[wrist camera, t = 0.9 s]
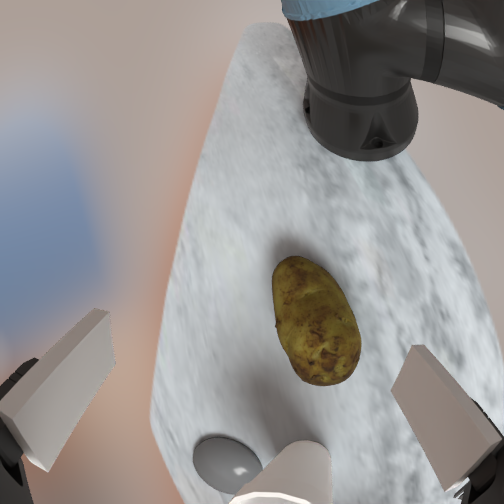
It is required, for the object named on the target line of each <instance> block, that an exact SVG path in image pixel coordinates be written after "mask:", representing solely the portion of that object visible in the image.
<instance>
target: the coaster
mask: <svg viewBox="0 0 504 504" xmlns="http://www.w3.org/2000/svg"><path fill="white" fill-rule="evenodd" d="M193 463H194V467H195V469H196V471H197V473H198V474H199V476H200V477H201V478H202V479H203V480H204V481H205V482H206V483H207V484H208V485H210V486H211V487H213V488H214V489H216V490H218V491H221V492H224V493H227V494H233V495H236V494H237V492H238V491H239V490H240V489H241V488H242V487H243V486H244V485H245V484H246V483H250V482H251V481H252V480H253V479H254V478H255V477H256V476H257V475H258V474H259V473H260V472H261V471H262V470H263V469H262V465H261V463H260V461H259V459H258V458H257V456H256V455H255V454H254V453H253V452H252V451H251V450H250V449H249V448H247V447H246V446H244V445H243V444H241V443H239V442H237V441H234V440H232V439H228V438H221V437H215V438H210V439H207V440H205V441H203V442H202V443H201V444H199V445H198V446H197V447H196V449H195V451H194V453H193Z"/></svg>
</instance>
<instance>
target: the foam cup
mask: <svg viewBox="0 0 504 504" xmlns="http://www.w3.org/2000/svg"><path fill="white" fill-rule="evenodd" d="M228 504H333V492H332V465H331V457H330V454H329V452H328V450H327V449H326V448H325V447H324V446H322V445H321V444H320V443H317V442H313V441H310V440H303V441H295V442H293V443H291V444H289V445H287V446H286V447H285V448H284V449H283V450H282V451H281V452H280V453H279V454H278V455H277V456H276V457H275V458H274V459H273V460H272V461H271V462H270V463H269V464H268V465H267V466H266V467H265V468H264V469H263V470H262V471H261V472H260V473H259V474H258V475H257V476H256V477H255V478H254V479H253V480H252V481H251V482H250V483H246V484H245V485H244V486H243V487H242V488H241V489H240V490H239V491H238V492H237V494H236V495H235V496H234V497H233V498H232V500H231V501H230V502H229V503H228Z"/></svg>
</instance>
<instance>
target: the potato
mask: <svg viewBox="0 0 504 504" xmlns="http://www.w3.org/2000/svg"><path fill="white" fill-rule="evenodd" d="M272 293H273V303H274V311H275V319H276V325H275V327H276V328H277V333H278V337H279V340H280V343H281V345H282V347H283V349H284V350H285V352H286V353H287V355H288V357H289V360H290V362H291V365H292V367H293V369H294V371H295V372H296V374H297V375H298V376H299V377H300V378H301V379H302V380H303V381H304V382H307V383H309V384H312V385H317V386H330V385H335V384H339V383H341V382H343V381H345V380H346V379H348V378H349V377H350V376H351V374H352V373H353V372H354V370H355V368H356V366H357V364H358V361H359V359H360V358H359V357H360V353H361V336H360V332H359V329H358V326H357V323H356V319H355V316H354V314H353V312H352V310H351V308H350V306H349V304H348V302H347V299H346V297H345V295H344V293H343V291H342V290H341V288H340V287H339V285H338V284H337V282H336V281H335V280H334V278H333V277H332V276H331V275H330V274H329V273H328V272H327V271H326V270H325V269H323V268H322V267H320V266H319V265H317V264H315V263H313V262H312V261H310V260H308V259H306V258H303V257H301V256H290V257H287V258H286V259H284V260H283V261H281V262H280V263H279V264H278V265H277V267H276V268H275V270H274V272H273V276H272Z"/></svg>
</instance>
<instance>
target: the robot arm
mask: <svg viewBox="0 0 504 504" xmlns="http://www.w3.org/2000/svg"><path fill="white" fill-rule="evenodd" d="M281 2H282V12H283V14H284V16H285V17H286V18H287V20H288V23H289V25H290V28H291V30H292V33H293V36H294V38H295V41H296V44H297V47H298V49H299V52H300V55H301V58H302V61H303V64H304V67H305V70H306V73H307V76H308V77H307V83H306V89H305V94H304V101H303V110H304V115H305V118H306V121H307V124H308V127H309V129H310V131H311V133H312V135H313V136H314V137H315V139H316V140H317V141H318V142H319V143H320V144H321V145H322V146H324V147H325V148H326V149H328V150H329V151H331V152H333V153H335V154H337V155H339V156H341V157H344V158H348V159H352V160H357V161H379V160H384V159H387V158H390V157H393V156H395V155H397V154H398V153H400V152H401V151H403V150H404V149H405V148H406V147H407V146H408V145H409V144H410V142H411V141H412V139H413V137H414V134H415V131H416V127H417V123H418V107H417V103H416V99H415V95H414V92H413V89H412V85H411V82H410V80H411V78H414V79H418V80H423V81H427V82H431V83H434V84H437V85H441V86H444V87H448V88H451V89H454V90H458V91H460V92H464V93H466V94H469V95H472V96H475V97H477V98H480V99H483V100H485V101H488V102H490V103H493V104H495V105H497V106H498V107H499V108H501V109H503V110H504V0H281ZM115 364H116V362H115V356H114V348H113V341H112V332H111V322H110V312H108V311H104V310H100V309H96V308H94V309H93V310H92V311H91V312H89V313H88V314H87V315H86V316H85V317H84V318H83V319H82V320H81V321H80V322H78V323H77V324H76V325H75V326H74V327H73V328H72V329H71V330H70V331H69V332H68V333H67V334H66V335H65V336H64V337H62V338H61V339H60V340H59V341H58V342H57V343H56V344H55V345H54V346H53V347H52V348H51V349H50V350H49V351H48V352H47V353H46V354H45V355H44V356H43V357H42V358H41V359H40V360H39V359H36V358H33V359H31V360H29V361H26V362H25V363H23V364H22V365H21V366H20V367H19V368H18V369H17V370H16V371H15V373H13V374H12V375H11V376H10V377H9V379H7V380H6V381H5V382H4V383H3V384H2V385H1V386H0V504H34V503H33V500H32V497H31V493H30V490H29V486H28V482H27V478H26V474H25V470H24V464H23V462H22V459H21V456H22V454H23V453H24V454H25V455H26V456H27V458H28V459H29V460H30V462H32V463H33V464H35V465H36V466H38V467H40V468H41V469H43V470H45V471H47V472H49V470H50V469H51V467H52V465H53V463H54V462H55V460H56V458H57V456H58V455H59V453H60V451H61V449H62V448H63V446H64V444H65V443H66V441H67V439H68V438H69V436H70V434H71V433H72V431H73V429H74V428H75V426H76V424H77V423H78V421H79V420H80V418H81V417H82V415H83V413H84V412H85V410H86V409H87V407H88V406H89V404H90V402H91V401H92V399H93V397H94V396H95V395H96V393H97V392H98V390H99V388H100V387H101V385H102V384H103V382H104V381H105V379H106V378H107V376H108V375H109V373H110V372H111V370H112V369H113V367H114V366H115ZM391 392H392V394H393V396H394V398H395V399H396V401H397V403H398V405H399V406H400V408H401V410H402V412H403V413H404V415H405V417H406V419H407V421H408V422H409V424H410V426H411V428H412V430H413V432H414V433H415V435H416V437H417V439H418V441H419V443H420V444H421V446H422V448H423V450H424V452H425V454H426V456H427V458H428V460H429V462H430V464H431V466H432V468H433V469H434V471H435V473H436V475H437V477H438V479H439V482H440V484H441V486H442V488H443V490H444V492H446V491H448V490H450V489H453V488H455V487H457V486H459V485H460V484H461V483H462V482H463V481H464V480H465V479H466V478H467V477H468V478H469V479H470V481H469V482H468V483H467V484H465V485H464V486H463V487H462V488H461V489H460V490H459V491H458V492H457V493H455V495H454V497H453V498H456V497H457V496H458V495H460V494H461V493H462V492H463V491H464V493H463V494H462V495H461V496H460V497H459V498H458V499H461V500H462V502H461V504H504V436H503V435H502V434H501V432H500V431H499V430H498V428H497V427H496V426H495V424H494V423H493V422H492V421H491V419H490V418H488V415H487V414H486V413H485V412H483V409H482V408H481V407H480V406H479V404H478V403H477V402H476V401H474V400H473V399H471V398H470V397H469V396H468V395H467V393H466V392H465V391H464V390H463V389H462V387H461V386H460V385H459V384H458V383H457V381H456V380H455V379H454V378H453V377H452V376H451V374H450V373H449V372H448V371H447V370H446V369H445V368H444V366H443V365H442V364H441V363H440V362H439V361H438V360H437V359H436V357H435V356H434V355H433V354H432V353H431V352H430V351H429V350H428V349H427V347H426V346H425V345H412V346H411V348H410V351H409V353H408V355H407V357H406V360H405V362H404V364H403V366H402V368H401V371H400V373H399V375H398V377H397V379H396V381H395V383H394V385H393V387H392V389H391Z"/></svg>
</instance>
